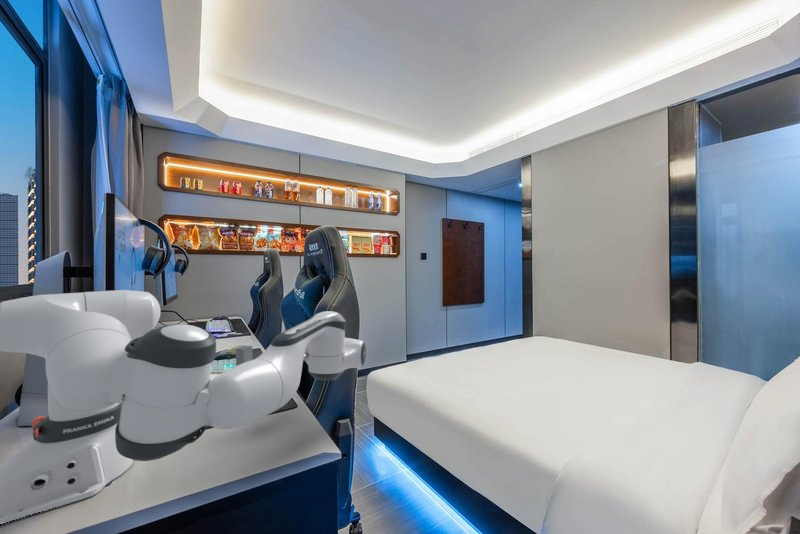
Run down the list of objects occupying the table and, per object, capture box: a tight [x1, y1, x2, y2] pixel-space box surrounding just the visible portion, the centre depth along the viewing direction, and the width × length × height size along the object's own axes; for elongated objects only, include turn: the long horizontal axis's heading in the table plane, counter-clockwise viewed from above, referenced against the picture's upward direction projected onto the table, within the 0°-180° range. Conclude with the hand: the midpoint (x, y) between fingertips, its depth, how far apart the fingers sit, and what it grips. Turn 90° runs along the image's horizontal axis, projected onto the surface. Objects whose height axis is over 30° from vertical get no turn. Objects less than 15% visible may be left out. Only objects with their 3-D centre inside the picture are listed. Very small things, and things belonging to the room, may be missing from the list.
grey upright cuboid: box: [230, 344, 254, 366], centre depth 104 cm, size 5×4×17 cm
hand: (277, 348), depth 101 cm, fingers open, 8 cm apart
